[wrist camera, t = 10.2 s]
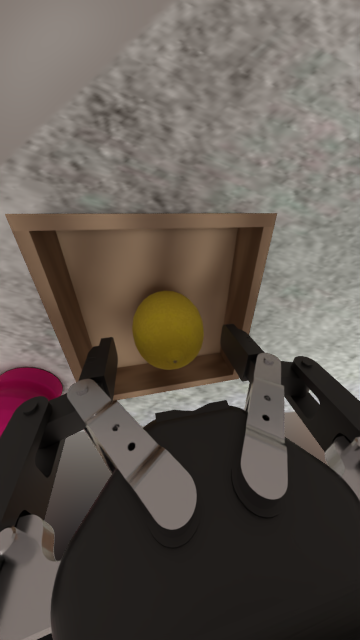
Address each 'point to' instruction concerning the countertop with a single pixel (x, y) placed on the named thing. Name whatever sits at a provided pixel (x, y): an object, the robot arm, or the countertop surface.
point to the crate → (145, 283)
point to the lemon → (168, 330)
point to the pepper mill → (24, 390)
